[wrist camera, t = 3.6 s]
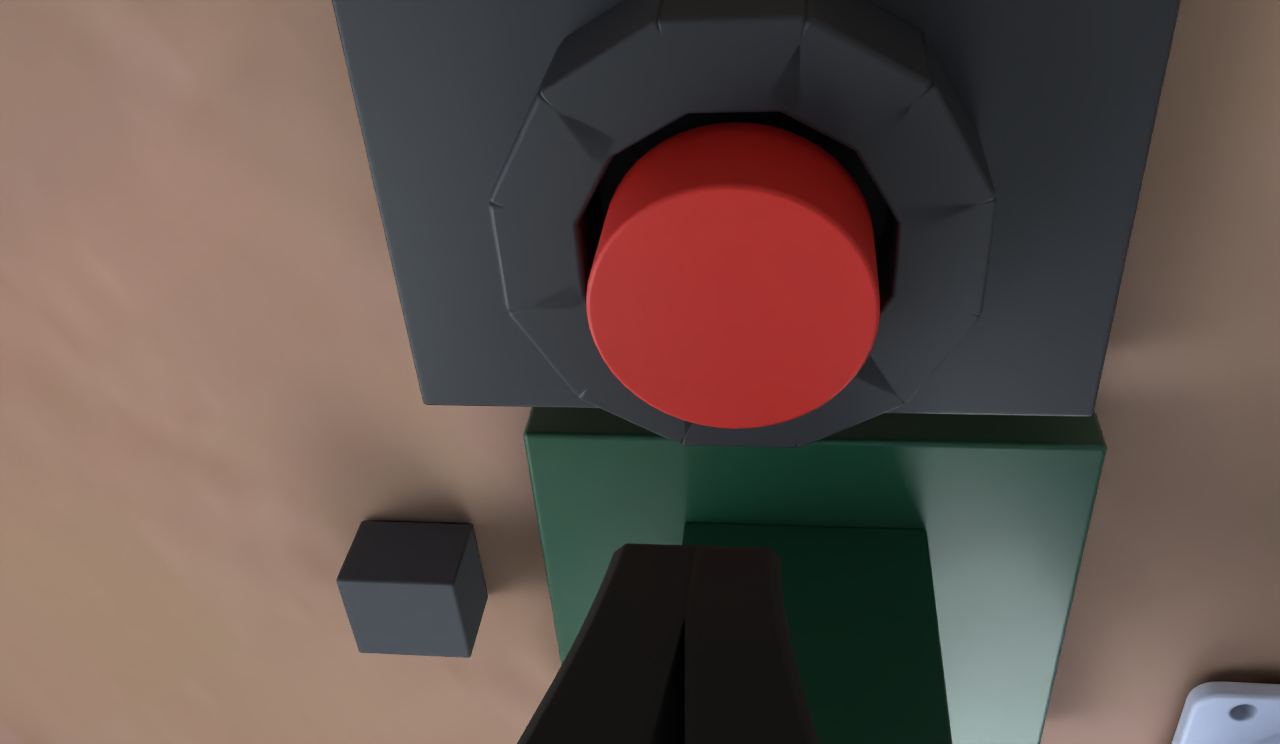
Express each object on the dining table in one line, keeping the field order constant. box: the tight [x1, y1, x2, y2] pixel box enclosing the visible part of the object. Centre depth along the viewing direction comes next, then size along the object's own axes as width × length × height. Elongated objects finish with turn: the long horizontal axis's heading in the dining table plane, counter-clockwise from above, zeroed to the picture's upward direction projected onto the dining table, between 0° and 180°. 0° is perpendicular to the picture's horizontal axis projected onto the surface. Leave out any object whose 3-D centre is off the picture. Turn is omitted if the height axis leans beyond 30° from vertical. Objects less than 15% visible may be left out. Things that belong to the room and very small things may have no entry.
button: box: [586, 122, 880, 429], centre depth 15 cm, size 4×4×2 cm
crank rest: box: [337, 521, 488, 658], centre depth 24 cm, size 2×2×2 cm
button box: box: [332, 0, 1181, 448], centre depth 17 cm, size 11×8×4 cm
